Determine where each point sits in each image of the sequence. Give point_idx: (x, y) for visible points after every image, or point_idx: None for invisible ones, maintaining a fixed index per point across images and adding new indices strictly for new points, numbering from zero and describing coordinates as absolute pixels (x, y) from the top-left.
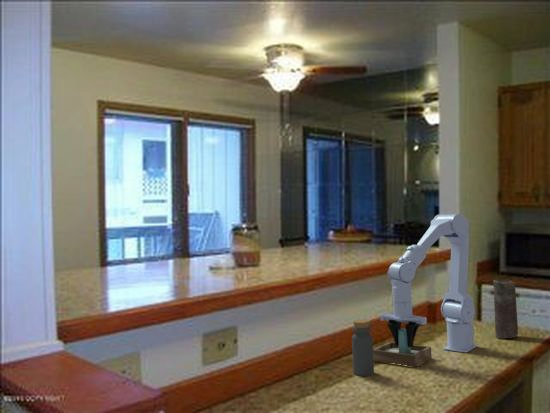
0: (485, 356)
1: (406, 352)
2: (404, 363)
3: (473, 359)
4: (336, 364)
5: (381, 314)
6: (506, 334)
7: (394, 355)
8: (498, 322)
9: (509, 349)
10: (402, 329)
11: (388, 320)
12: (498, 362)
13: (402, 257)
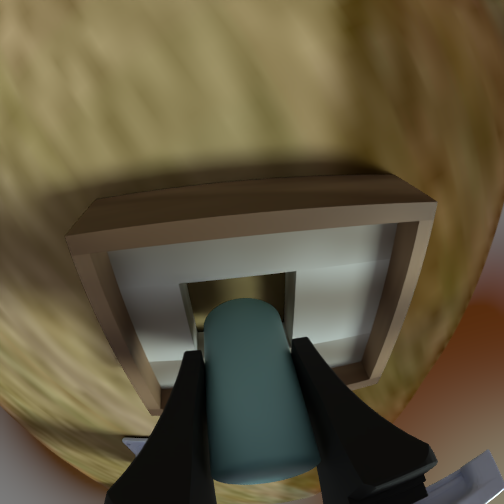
0: (67, 425)
1: (213, 317)
2: (157, 195)
3: (57, 401)
4: (493, 52)
5: (498, 493)
6: None
7: (242, 206)
8: None
9: (89, 461)
10: (284, 470)
11: (429, 488)
12: (7, 395)
13: None
